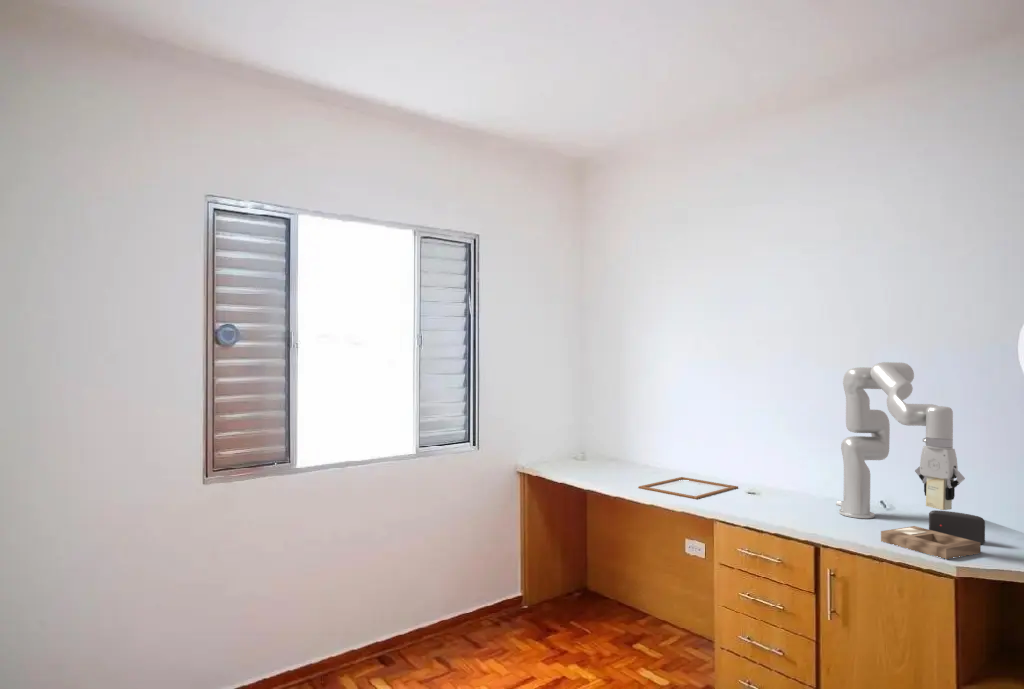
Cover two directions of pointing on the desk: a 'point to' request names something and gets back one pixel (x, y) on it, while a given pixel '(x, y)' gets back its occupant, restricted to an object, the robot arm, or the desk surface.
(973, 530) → the leaning round-cornered charcoal block
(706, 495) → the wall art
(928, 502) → the skincare box
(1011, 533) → the desk surface
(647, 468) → the desk surface
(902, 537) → the walnut stand
